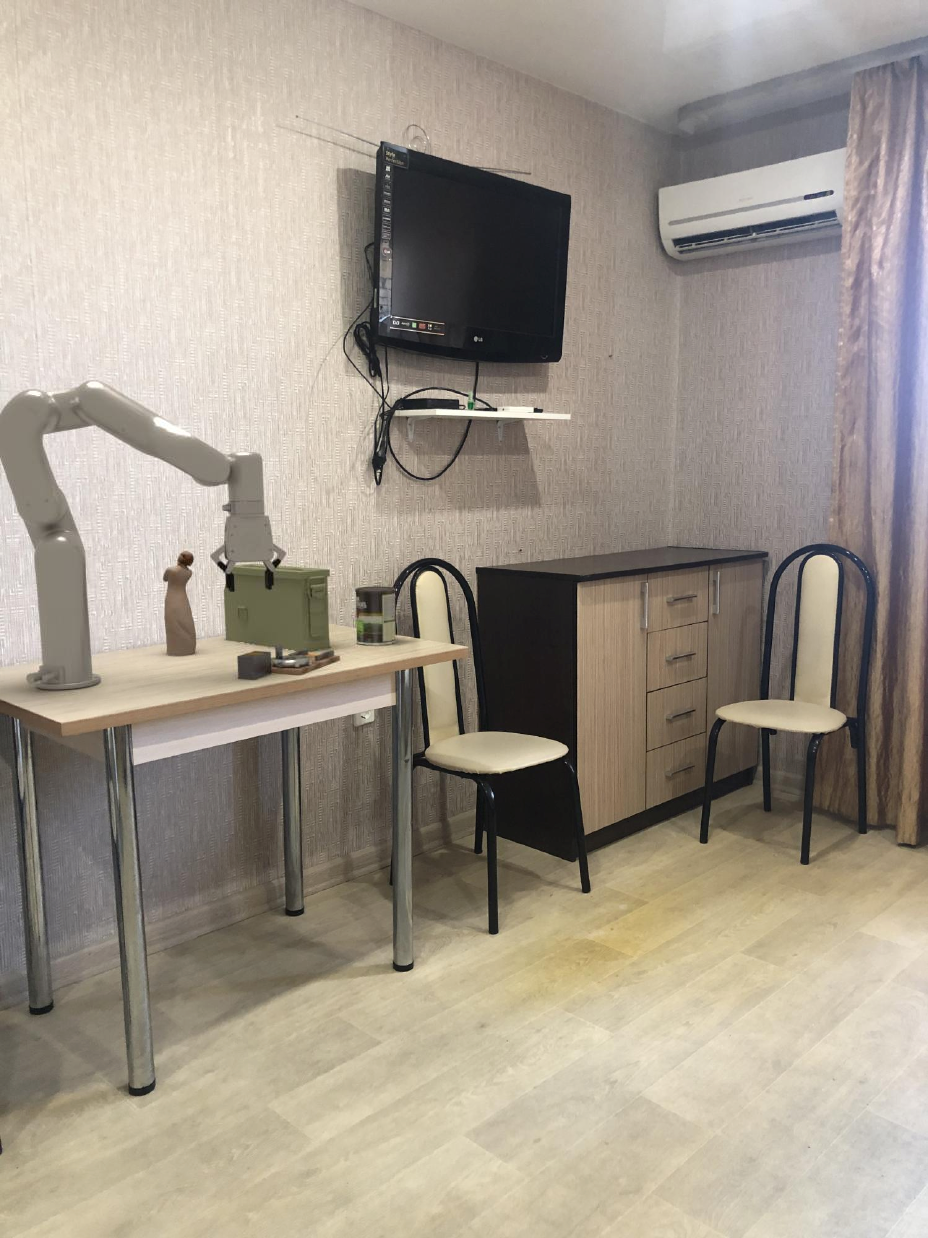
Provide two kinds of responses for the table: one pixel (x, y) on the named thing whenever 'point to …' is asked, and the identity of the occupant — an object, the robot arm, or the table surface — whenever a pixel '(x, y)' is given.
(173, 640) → the figurine
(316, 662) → the board
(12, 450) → the robot arm
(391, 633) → the coffee can
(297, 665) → the sprocket
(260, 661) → the charcoal rectangular block
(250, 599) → the ammunition box
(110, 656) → the table surface
